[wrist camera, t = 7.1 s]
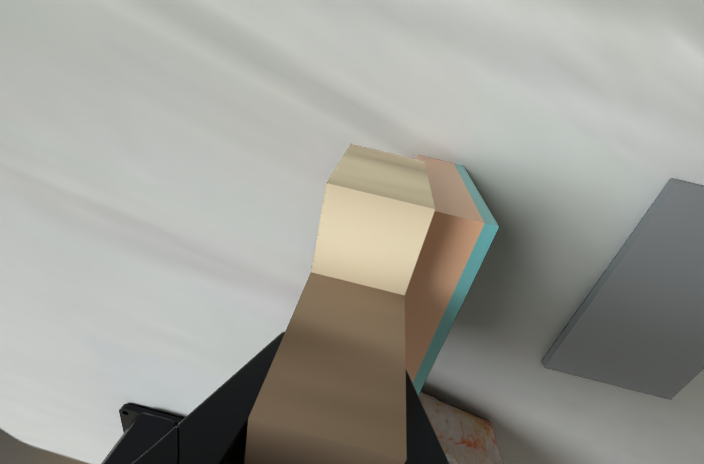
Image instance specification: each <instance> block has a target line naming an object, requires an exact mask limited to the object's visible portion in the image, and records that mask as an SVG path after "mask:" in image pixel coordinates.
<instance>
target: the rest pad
mask: <svg viewBox="0 0 704 464" xmlns="http://www.w3.org/2000/svg"><path fill="white" fill-rule="evenodd" d="M542 364H543V366H544V368H548V369H552V370H556V371H560V372H564V373H568V374H572V375H576V376H580V377H584V378H588V379H591V380H595V381H599V382H603V383H607V384H611V385H615V386H619V387H623V388H627V389H631V390H635V391H639V392H643V393H646V394H650V395H654V396H658V397H662V398H666V399H670V400H671V399H672V398H673V397H674V396H675V395H676V394H677V393H678V392H679V391H680V390H681V389H682V388H683V387H684V386H686V385H687V384H688V383H689V382H690V381H691V380H692V379H693V378H694V377H695V376H696V375H697V374H698V373H699V372H700V371H702V370H703V369H704V186H703V185H699V184H694V183H690V182H686V181H682V180H678V179H674V178H671V179H670V180H669V182H668V183H667V185H666V186H665V187H664V189H663V190H662V192H661V193H660V194H659V196H658V197H657V199H656V200H655V202H654V203H653V204H652V206H651V207H650V209H649V210H648V211H647V213H646V214H645V216H644V217H643V219H642V220H641V221H640V223H639V224H638V226H637V227H636V228H635V230H634V231H633V233H632V234H631V236H630V237H629V238H628V240H627V241H626V243H625V244H624V245H623V247H622V248H621V250H620V251H619V253H618V254H617V255H616V257H615V258H614V260H613V261H612V262H611V264H610V265H609V267H608V268H607V270H606V271H605V272H604V274H603V275H602V277H601V278H600V279H599V281H598V282H597V284H596V285H595V287H594V288H593V289H592V291H591V292H590V294H589V295H588V296H587V298H586V299H585V301H584V302H583V304H582V305H581V306H580V308H579V309H578V311H577V312H576V313H575V315H574V316H573V318H572V319H571V321H570V322H569V323H568V325H567V326H566V328H565V329H564V330H563V332H562V333H561V335H560V336H559V338H558V339H557V340H556V342H555V343H554V345H553V346H552V347H551V349H550V350H549V352H548V353H547V355H546V356H545V357H544V359H543V360H542Z"/></svg>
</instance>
